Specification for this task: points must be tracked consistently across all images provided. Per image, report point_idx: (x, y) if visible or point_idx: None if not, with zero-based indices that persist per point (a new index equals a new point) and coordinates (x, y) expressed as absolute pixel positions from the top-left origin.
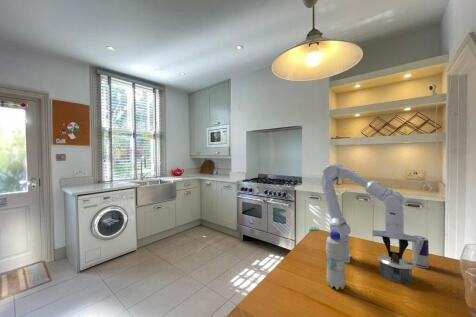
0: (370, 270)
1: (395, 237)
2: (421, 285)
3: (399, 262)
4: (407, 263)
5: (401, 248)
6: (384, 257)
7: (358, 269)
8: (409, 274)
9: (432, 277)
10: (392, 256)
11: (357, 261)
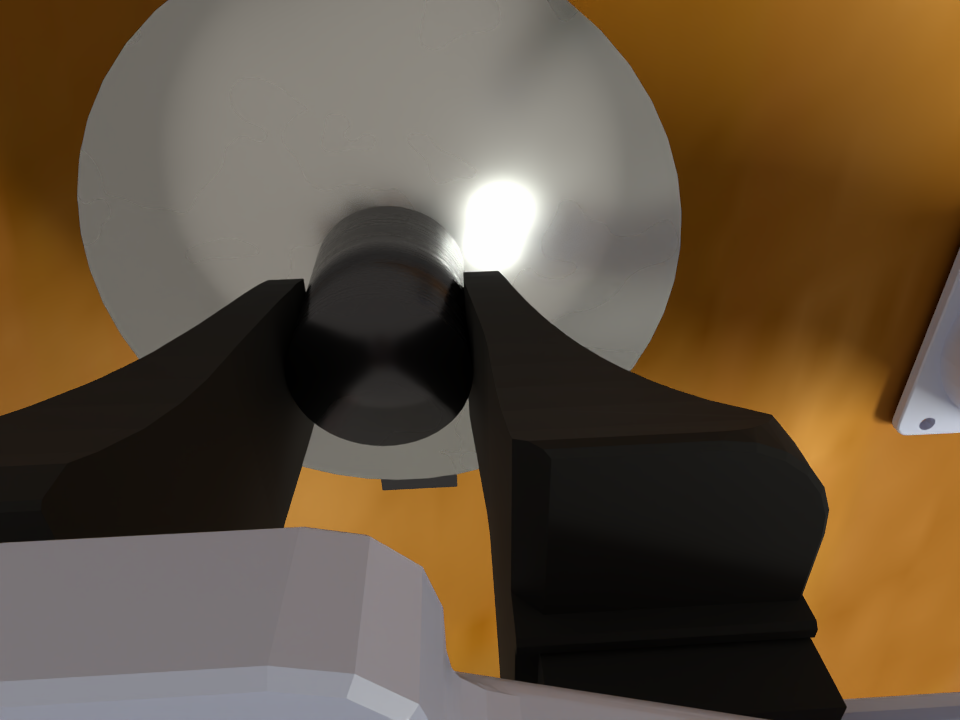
0: (708, 159)
1: (88, 682)
2: (95, 97)
3: (315, 235)
4: (186, 273)
5: (157, 393)
6: (562, 319)
7: (881, 88)
8: None
9: (34, 392)
10: (433, 269)
11: (831, 330)
